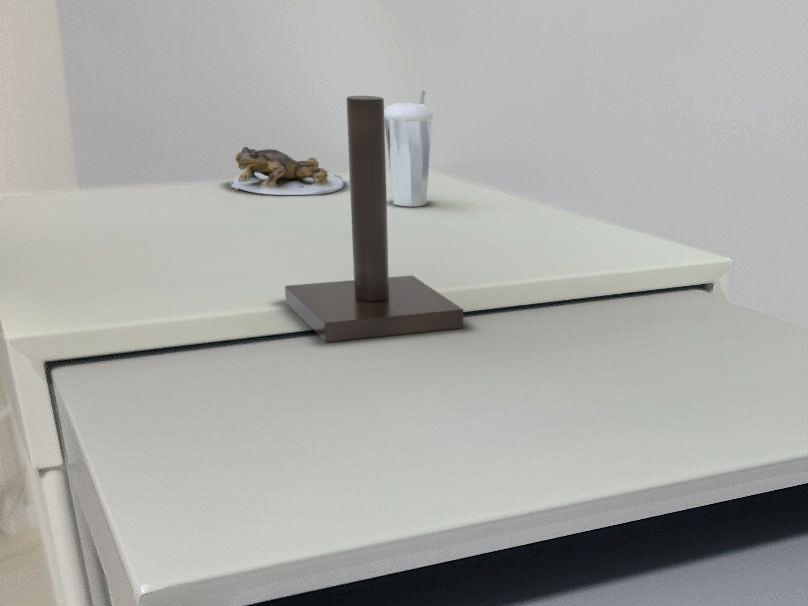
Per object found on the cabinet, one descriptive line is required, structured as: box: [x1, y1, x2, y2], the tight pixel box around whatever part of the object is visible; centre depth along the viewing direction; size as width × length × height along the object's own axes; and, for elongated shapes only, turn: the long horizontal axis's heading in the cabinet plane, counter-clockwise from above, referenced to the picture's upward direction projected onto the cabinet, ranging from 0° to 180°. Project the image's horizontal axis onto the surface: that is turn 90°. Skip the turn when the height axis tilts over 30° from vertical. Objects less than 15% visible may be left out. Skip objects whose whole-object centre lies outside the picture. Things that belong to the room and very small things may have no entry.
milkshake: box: [384, 89, 434, 208], centre depth 101 cm, size 4×5×10 cm
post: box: [284, 95, 464, 343], centre depth 67 cm, size 9×9×13 cm
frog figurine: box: [229, 146, 345, 196], centre depth 108 cm, size 12×12×4 cm
